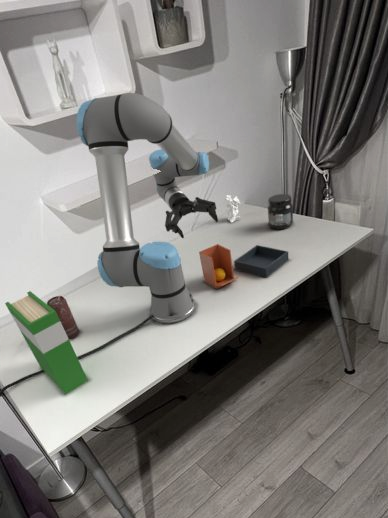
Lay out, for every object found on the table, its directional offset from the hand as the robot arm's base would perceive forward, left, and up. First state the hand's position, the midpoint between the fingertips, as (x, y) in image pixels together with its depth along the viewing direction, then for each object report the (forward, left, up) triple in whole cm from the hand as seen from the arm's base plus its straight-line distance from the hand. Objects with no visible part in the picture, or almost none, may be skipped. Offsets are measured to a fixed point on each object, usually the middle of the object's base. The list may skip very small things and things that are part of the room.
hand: (199, 226), depth 141 cm
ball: (-2, -8, -16) cm, 18 cm away
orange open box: (-3, -9, -19) cm, 21 cm away
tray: (+14, -15, -19) cm, 28 cm away
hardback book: (-66, 0, -19) cm, 68 cm away
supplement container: (+47, -1, -19) cm, 51 cm away
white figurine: (+45, +24, -19) cm, 55 cm away
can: (-53, +16, -19) cm, 58 cm away
